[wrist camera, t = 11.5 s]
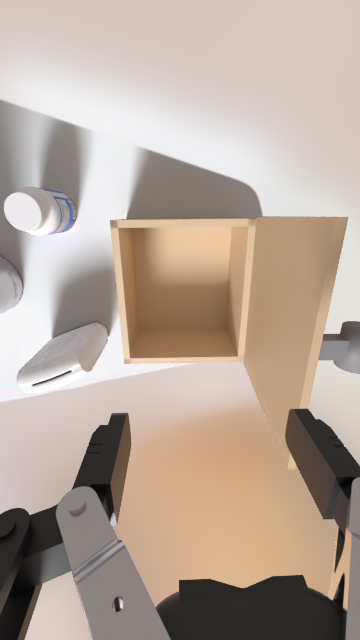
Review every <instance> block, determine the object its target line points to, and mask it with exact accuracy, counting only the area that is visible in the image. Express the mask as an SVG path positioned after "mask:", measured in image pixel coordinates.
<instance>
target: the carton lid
mask: <svg viewBox="0 0 360 640" xmlns="http://www.w3.org/2000/svg"><path fill="white" fill-rule="evenodd" d="M347 221H348V217H257V218H256V229H255V240H254V251H253V262H252V273H251V284H250V295H249V306H248V317H247V328H246V339H245V350H244V361H243V363H244V366H245V368H246V371H247V373H248V375H249V378H250V380H251V383H252V385H253V388H254V390H255V392H256V395H257V397H258V400H259V402H260V404H261V407H262V409H263V412H264V414H265V417H266V419H267V422H268V424H269V427H270V429H271V431H272V434H273V436H274V438H275V441H276V444H277V446H278V448H279V451H280V453H281V456H282V458H283V461H284V463H285V465H286V468H287V469H288V470H291V469H292V470H293V469H295V467H296V463H295V461H294V459H293V457H292V455H291V453H290V451H289V449H288V447H287V444H286V440H285V431H286V425H287V420H288V414H289V410H290V409H303V408H306V409H308V405H309V401H310V396H311V391H312V386H313V381H314V377H315V372H316V367H317V362H318V360H334V364H335V365H336V366H337V367H339V368H341V369H342V370H345V371H348V372H351V373H357V374H360V322H356V321H348V322H344V323H343V324H342V328H341V332H340V334H324V330H325V325H326V320H327V316H328V311H329V306H330V301H331V296H332V291H333V287H334V282H335V277H336V273H337V268H338V263H339V259H340V254H341V249H342V245H343V240H344V235H345V231H346V226H347Z"/></svg>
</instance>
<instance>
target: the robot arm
mask: <svg viewBox="0 0 360 640" xmlns="http://www.w3.org/2000/svg"><path fill="white" fill-rule="evenodd" d="M22 292H23V286H22V281H21V278H20V276H19V274H18V272H17V270H16V269H15V268H14V267H13V266H12V265H11V264H10V263H9V262H8V261H7V260H5V259H4V258H2V257H0V314H2V313H4V312H5V311H7V310H9V309H11V308H12V307H14V306H15V305H16V304H17V303H18V302H19V301H20V299H21V296H22ZM285 440H286V444H287V447H288V449H289V451H290V453H291V455H292V457H293V459H294V461H295V463H296V465H297V467H298V469H299V471H300V473H301V475H302V477H303V479H304V481H305V483H306V485H307V487H308V489H309V491H310V493H311V495H312V497H313V499H314V501H315V503H316V505H317V507H318V509H319V511H320V513H321V515H322V517H323V519H335V521H336V522H337V525H338V527H337V531H336V540H335V541H336V542H335V549H334V558H333V567H332V576H331V583H330V588H329V592H328V597H327V596H325V595H323V594H322V593H320V592H318V591H316V590H314V589H311V588H308V587H307V585H306V582H305V579H304V577H303V575H296V576H295V575H293V576H273V577H270V578H268V579H265V580H263V581H261V582H258V583H256V584H254V585H252V586H249V587H247V588H238V587H235V586H232V585H228V584H225V583H222V582H218V581H215V580H211V579H197V580H179V592H176V593H174V594H172V595H170V596H169V597H167V598H166V599H164V600H163V601H162V602H161V603H160V604H158V605H157V606H156V607H155V606H154V604H153V602H152V600H151V598H150V596H149V594H148V592H147V590H146V588H145V586H144V583H143V581H142V579H141V577H140V575H139V573H138V571H137V569H136V567H135V565H134V563H133V561H132V559H131V557H130V555H129V553H128V551H127V549H126V547H125V545H124V543H123V542H122V541H121V540H120V541H119V539H118V538H117V536H116V534H115V531H114V530H113V527H112V526H117V522H118V517H119V512H120V506H121V500H122V495H123V489H124V484H125V478H126V473H127V467H128V461H129V456H130V450H131V433H130V424H129V416H128V413H112V415H111V418H110V421H109V424H108V425H100V426H99V427H98V428H97V429H96V431H95V432H94V433H93V434H92V437H91V439H90V442H89V446H88V447H87V450H86V454H85V456H84V458H83V461H82V464H81V466H80V469H79V472H78V475H77V477H76V480H75V483H74V486H73V488H72V490H71V491H70V492H68V493H67V494H66V495H65V496H64V497H63V498H62V499H61V501H60V502H59V503H58V504H57V505H55V506H53V507H51V508H49V509H46V510H43V511H40V512H37V513H35V514H32V515H29V513H28V512H27V511H26V510H25V509H22V508H14V509H10V510H8V511H5V512H4V513H2V514H0V640H24V639H25V636H26V633H27V630H28V627H29V624H30V620H31V618H32V615H33V611H34V608H35V605H36V602H37V599H38V596H39V593H40V590H41V587H42V584H43V583H45V582H47V581H49V580H51V579H54V578H56V577H58V576H61V575H63V574H65V573H67V572H70V571H72V574H73V577H74V581H75V584H76V587H77V591H78V594H79V597H80V601H81V604H82V607H83V611H84V614H85V617H86V621H87V624H88V628H89V631H90V634H91V638H92V640H360V466H359V465H358V463H357V462H356V461H355V459H354V458H353V457H352V455H351V454H350V453H349V451H348V450H347V449H346V447H344V445H343V443H342V442H341V441H340V439H338V437H337V435H336V434H335V433H334V432H333V430H332V429H331V428H330V427H329V426H328V425H327V424H325V423H324V422H323V421H321V420H320V419H318V420H316V419H315V418H314V416H313V415H312V414H311V412H310V411H309V410H308V409H306V408H303V409H290V410H289V414H288V420H287V425H286V431H285Z"/></svg>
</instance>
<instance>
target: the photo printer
mask: <svg viewBox="0 0 360 640" xmlns="http://www.w3.org/2000/svg"><path fill="white" fill-rule="evenodd" d="M107 337H108V332H107V330H106V328H105V327H104V326H103V325H102V324H99V323H92V324H89V325H86V326H83V327H80V328H77V329H75V330H72V331H69V332H67V333H64V334H61V335H59V336H57V337H55V338H53V339H51V340H50V341H49V342H48V343H47V344H46V345H45V346H44V347H43V348H42V349H41V350H40V351H39V352H38V353H37V354H36V355H35V356H34V357H33V358H32V359H30V360H29V361H28V362H27V363H26V364H25V365H24V366H23V367H22V368H21V369H20V371H19V372H18V375H17V385H18V386H20V387H21V389H22V391H23V392H26V393H37V392H43V391H47V390H51V389H54V388H57V387H60V386H63V385H65V384H68V383H70V382H72V381H75V380H77V379H79V378H81V377H83V376H84V375H86V374H87V373H89V372H90V371H91V370H92V368H93V367H94V365H95V363H96V361H97V360H98V358H99V356H100V354H101V352H102V351H103V349H104V347H105V345H106V343H107V341H108V339H107Z"/></svg>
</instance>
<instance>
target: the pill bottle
mask: <svg viewBox="0 0 360 640" xmlns="http://www.w3.org/2000/svg"><path fill="white" fill-rule="evenodd" d="M4 213H5V216H6V218H7V220H8V221H9V222H10V224H11V225H12V226H14V227H15V228H17V229H19V230H21V231H26V232H28V233H30V234H32V235H37V236H42V235H49V234H54V233H60V232H65V231H67V230H69V229H70V228H72V227H73V225H74V224H75V222H76V217H77V213H76V208H75V206H74V204H73V202H72V201H71V199H70V198H69V197H68V196H66V195H65V194H63V193H61V192H58V191H53V190H47V189H42V188H37V187H25V188H22V189H20V190H19V191H17V192H15V193H12V194H10V195H9V196H8V197H7V198H6V200H5V202H4Z"/></svg>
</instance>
